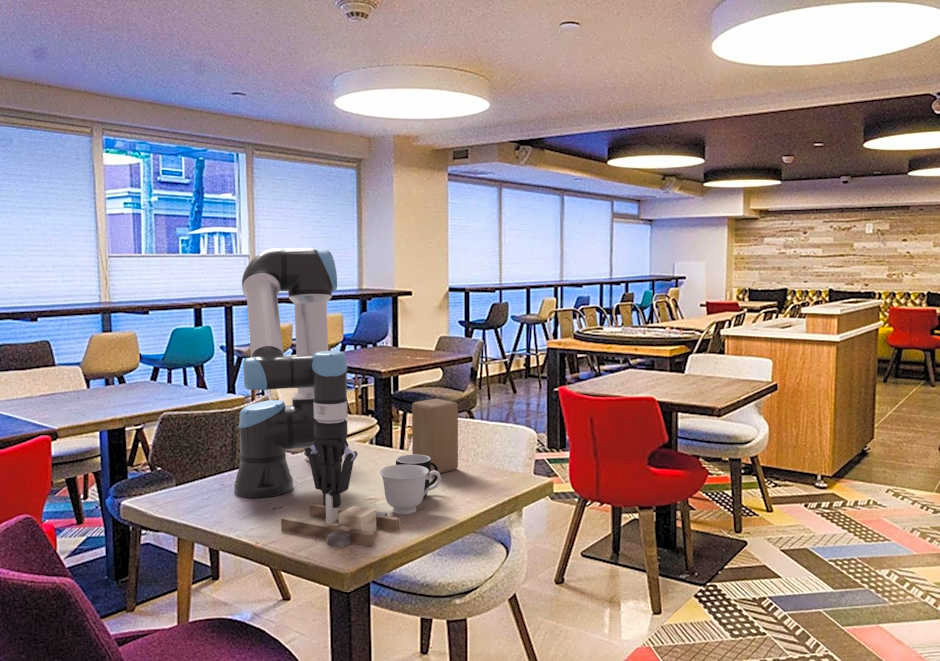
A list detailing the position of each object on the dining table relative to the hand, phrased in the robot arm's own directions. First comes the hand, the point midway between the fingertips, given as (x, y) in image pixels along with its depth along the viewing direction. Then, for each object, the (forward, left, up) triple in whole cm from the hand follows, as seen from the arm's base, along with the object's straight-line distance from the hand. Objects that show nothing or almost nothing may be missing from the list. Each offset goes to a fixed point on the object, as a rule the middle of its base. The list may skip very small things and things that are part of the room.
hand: (332, 520), depth 175 cm
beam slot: (+3, 0, -2) cm, 3 cm away
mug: (+7, +29, -2) cm, 29 cm away
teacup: (+11, +18, -2) cm, 21 cm away
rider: (+7, -1, -2) cm, 8 cm away
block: (-1, +53, -2) cm, 53 cm away
